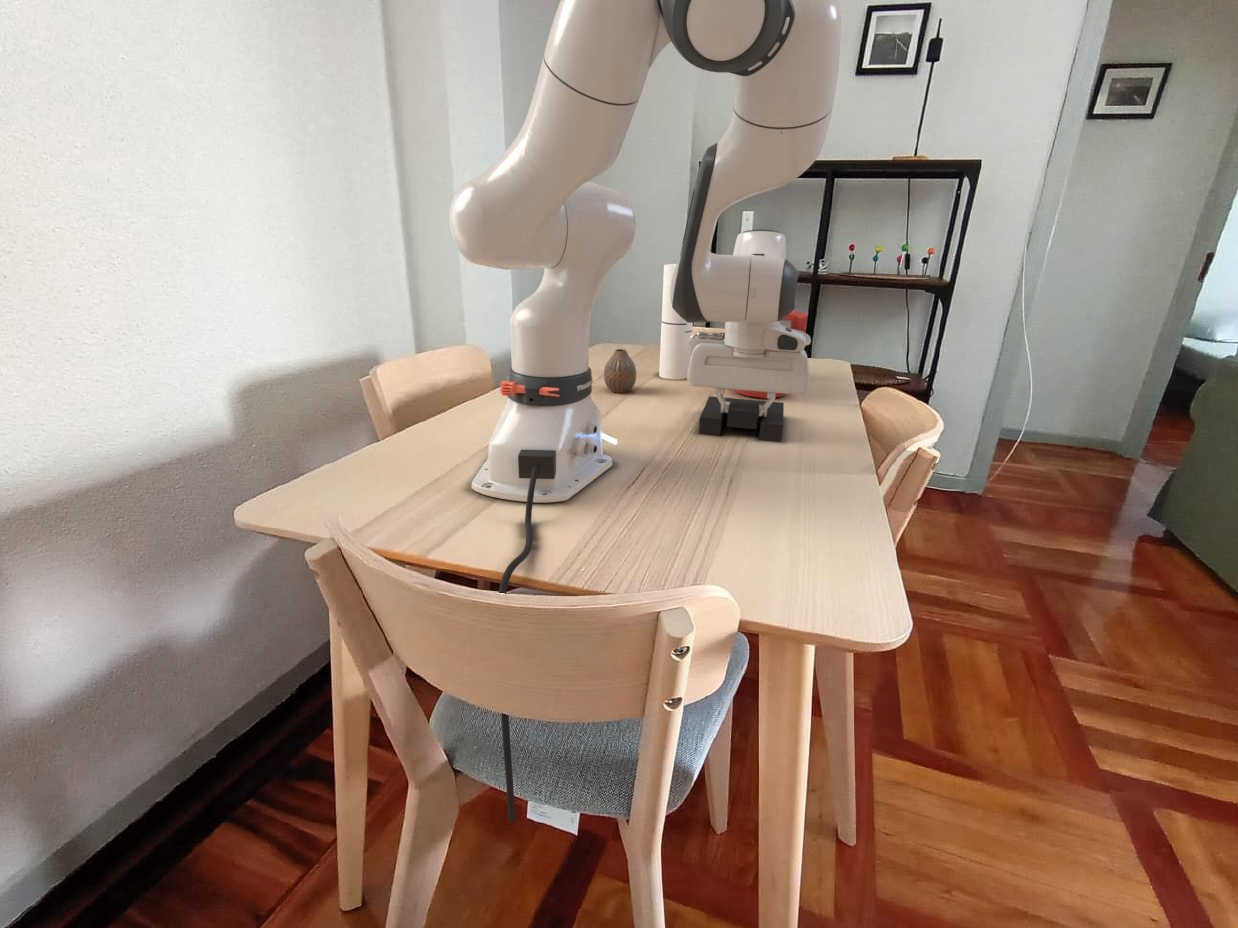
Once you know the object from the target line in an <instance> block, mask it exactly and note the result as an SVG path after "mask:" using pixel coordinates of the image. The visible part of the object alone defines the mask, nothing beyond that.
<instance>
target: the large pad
mask: <svg viewBox="0 0 1238 928" xmlns="http://www.w3.org/2000/svg"><path fill="white" fill-rule="evenodd" d="M724 399H725V401H726V402H730V403H731V401H742V402H754V403H760V405H764V404H765V403H766V401H767V400H759V399H747V398H734V397H724ZM706 400H707V401H706V403H705V405H704V407H703V409H702V411H701V413H700V416H699V422H698V423H699V424H698V434H699V435H709V436H719V437H720V436H721V434H722V431H723V428H724V425H727V418H728V414H725V413H720V411H721V404H720V402H719V400H718V398H717V396H711V395H709V396H708V398H707V399H706ZM784 406H785V405H784V402H781V401H773V403H772V404H771V405H770V406H769V408H767V417H758V422H757V428H759V436H758V440H760V441H768V442H769V441H770V442H779V443H780V442H782V438H783V431H784V416H785V415H784V411H785V408H784Z"/></svg>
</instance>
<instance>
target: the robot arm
mask: <svg viewBox="0 0 1238 928" xmlns="http://www.w3.org/2000/svg"><path fill="white" fill-rule="evenodd" d="M841 17H842V16H841V9H840V5H839V3H838V1H837V0H560V1H559V4H558V6H557V9H556V13H555V14H554V18H553V20H552V24H551V26H550V31H549V33H548V37H547V41H546V46H545V49H544V53H543V56H542V60H541V65H540V69H539V73H538V76H537V81H536V84H535V89H534V91H533V95H532V98H531V101H530V105H529V109H528V111H527V114H526V117H525V120H524V122H523V125H522V127H521V129H520V130H519V131H518V134H517V135H516V137H515V139H514V140H513V141H512V143H511V144H510V145H509V147H508V148H507V149H506V151H504V153H503V154H502V156H500V157H499V158H498V159H497V160H496V162H494V163H493V164H492V165H491V166H490V167H489V168H487V169H486V170H485V171H483V172H482V173H481V174H479V175H477V176H475V177H474V178H472V179H470V180H468V181H466V182H464V183H463V184H462V185H461V186H460V187H459V188H458V190H457V191H456V192H455V195H454V197H453V198H452V201H451V205H450V207H449V215H448V225H449V231H450V235H451V238H452V240H453V243H454V244H455V247H456V248H457V250H458V251H459V253H460V254H461V255H462V257H464V258H465V260H467V261H468V262H469V263H470V264H473V265H478V266H483V267H488V268H493V269H500V270H505V271H507V270H536V269H537V270H539V269H541V270H542V269H544V270H543V276H542V279H541V282H540V284H539V286H538V287H537V289H536V291H535V292H533V294H531V295H530V296H528V297H526V298H525V299H524V300H522V301H521V302H519V303H518V305H516V306H515V308H514V309H513V311H512V313H511V316H510V319H509V335H510V354H511V355H510V356H511V357H510V358H511V367H510V369H509V370H508V377H507V380H502V381H501V382H500V386H499V391H500V395H501V396H505V397H507V401H506V402H505V406H504V408H503V410H502V412H501V413H500V416H499V418H498V421H497V423H496V425H495V428H494V430H493V432H492V434H491V436H490V439H489V442H488V447H487V459H486V460H485V461H484V463H483V465H482V466H481V467H480V469H479V471H478V472H477V473H476V475H475V476H474V477H473V479H472V481H471V489H472V490H473V491H475V492H476V493H478V494H481V495H484V496H486V497H492V498H496V499H502V500H507V501H514V502H515V501H516V502H523V503H526V504H525V505H526V506H525V516H524V528H525V544H524V548H523V549H522V551H521V553H520V554H518V556H516V557H514V559H513V560H512V561H511V562H509V564H508V565H507V567H506V568H505V570H504V572H503V575H502V577H501V579H500V584H499V587H498V593H505V595H506V594H507V592H508V586H509V583H510V579H511V577H512V575H513V573H514V571H515V570H516V568H517V567H518V566H519V565H520V564H521V563H523V562H524V561H525V560H526V559H527V558H528V556H529V555H530V553H531V551H532V546H533V542H534V541H533V540H534V538H533V537H534V536H533V535H534V533H533V526H532V517H533V504H534V503H541V504H542V503H559V502H564V501H568V500H569V499H571V498H572V497H573V496H575V495H576V494H577V493H579V492H580V491H581V490H582V489H583V488H585V487H586V486H588V485H589V484H591V483H592V482H593V481H594V480H596V479H597V478H599V476H602V474H603V473H605V472H606V471H608V470H609V469H610V468H611V467H612V466H613V458H612V457H611V456H609V455H608V454H606V453H604V447H603V446H604V443H603V440H605V441H607V442H608V443H611V444H613V445H617V444H618V440H617V439H616V438H614V437H612V436H609V435H607V434H605V433H603V425H602V424H603V423H602V411H601V409H599V407H598V406H597V404H595V402H594V400H593V399H592V396H591V394H592V392H593V376H592V375H593V374H592V368H591V367H590V365H589V359H590V357H589V356H590V355H589V353H590V333H591V332H590V330H591V320H592V312H593V308H594V304H595V301H596V298H597V295H598V293H599V291H600V288H601V287H602V285H603V282H604V281H605V279H606V277H607V276H608V274H609V273H610V271H611V270H612V269H613V268H614V267H615V265H617V264H618V262H620V261H621V260H622V259H623V258H624V257H625V256H626V255H627V253H628V252H629V250H630V248H631V246H632V244H633V242H634V238H635V234H636V216H635V211H634V209H633V206H632V204H631V202H630V200H629V199H628V197H627V195H625V193H623V192H622V191H620V190H618V189H615V188H613V187H610V186H606V185H604V184H599V183H596V182H592V181H591V180H593V179H595V178H597V177H599V176H601V175H602V174H603V173H605V172H606V171H607V170H609V169H610V167H611V166H612V165H613V164H614V163H615V162H616V160H617V159H618V157H619V154H620V152H621V149H622V147H623V144H624V141H625V138H626V136H627V132H628V130H629V127H630V125H631V122H632V119H633V116H634V115H635V114H634V113H635V111H636V108H637V106H638V103H639V101H640V97H641V95H642V92H643V89H644V87H645V83H646V80H647V78H648V75H649V71H650V69H651V68H652V66H653V64H654V62H655V60H656V58H657V57H658V56H659V54H660V53H661V52H662V51H663V49H665V48H666V47H667V46H668V45H669V44H671V43H672V45H673V47H674V48H675V49H676V51H677V52H678V53H679V55H680V56H681V57H682V58H683V59H684V60H685V61H686V62H688V63H689V64H690V65H692V66H694V67H696V68H698V69H700V70H703V71H706V72H712V73H719V74H720V73H725V74H726V73H729V74H732V75H734V77H735V78H734V79H735V80H734V87H733V88H734V89H733V99H732V100H733V101H732V111H731V115H730V120H729V123H728V125H727V127H726V129H725V131H724V133H723V134H722V136H721V138H720V139H719V140H718V142H715V143H714V144H712V145H709V146H708V147H707V148H706V150H705V151H704V153H703V156H702V158H701V161H700V163H699V167H698V171H697V174H696V179H695V185H694V188H693V190H692V195H691V199H690V204H689V209H688V212H687V213H688V214H687V218H686V224H685V229H684V232H683V233H684V234H683V239H682V244H681V245H682V246H681V250H680V253H679V254H680V255H679V258H678V260H677V263H676V264H677V265H676V268H675V270H674V273H673V276H672V280H671V287H670V298H671V303H672V308H673V309H674V310H675V311H676V313H677V314H678V315H679V316H680V317H682V318H683V319H684V320H685V321H686V322H688V323H693V324H694V323H695V324H696V323H709V322H718V323H719V322H721V323H725V324H724V332H719V331H718V332H715V331H713V332H707V331H697V333H694V334H692V336H691V337H690V339H689V342H688V353H689V355H690V356H691V358H690V363H689V368H688V375H687V378H686V380H687V383H688V384H689V385H690V386H691V387H699V388H709V389H711V388H713V389H715V397H717V398H718V400H719V402H720V404H721V411H720V413H725V414H728V409H729V406H730V402H726V401H725V399H724V398H725V397H724V394H725V391H726V390H733V389H734V390H746V391H758V392H768V393H767V398H769V399H766V400H765V401H766V403H765V404H764V405H759V412H758V417H767V408H769V406H770V405H771V404H772V403H773V402H775V400H776V397H775V396H776V393H782V394H786V395H797V396H803V395H804V394H805V393H806V392H808V390H809V383H810V382H809V381H810V367H809V358H808V354H807V352H806V350H805V348H806V346H807V345H806V337H805V335H804V334H803V333H801V332H799V331H796V330H793V329H791V328H788V327H785V326H783V325H780V321H781V320H782V319H784V318H785V317H786V316H787V315H789V314H790V313H791V312H792V311H795V309H796V305H795V303H796V302H795V301H796V291H797V284H798V280H799V276H800V271H799V270H798V269H797V267H795V266H794V265H793V263H792V262H791V261H790V260H789V259H787V238H786V235H785V234H784V233H782V232H780V231H778V230H773V229H761V228H760V229H749V230H744V231H742V232H740V233H738V234H737V236H736V239H735V244H734V247H733V252H732V254H719V253H713V252H711V251H710V250H711V245H712V242H713V239H714V234H715V230H716V226H717V224H718V220H719V217H720V216H721V215H722V213H723V212H724V211H725V210H727V209H728V208H729V207H731V206H733V205H735V204H737V203H739V202H741V201H744V200H745V199H749V198H750V197H753V196H756V195H760V194H763V193H767V192H770V191H774V190H776V189H779V188H781V187H784V186H786V185H788V184H789V183H791V182H793V181H795V180H796V179H797V178H799V177H800V176H801V175H803V174H804V173H805V172H806V171H807V170H808V169H809V168H810V167H811V166H812V165H813V164H814V163H815V162H816V160H817V159H818V157H819V156H820V153H821V151H822V149H823V146H824V143H825V140H826V137H827V134H828V130H829V128H830V127H829V126H830V122H831V117H832V114H833V107H834V104H835V103H834V102H835V97H836V90H837V83H838V78H839V77H838V75H839V67H840V57H841V56H840V55H841V36H842V35H841V34H842V33H841V32H842V31H841V28H842V27H841V25H842V24H841V23H842V22H841V19H842V18H841ZM734 390H733V391H734ZM500 715H501V716H500V718H501V731H502V732H501V733H502V746H503V747H502V749H503V760H504V772H505V787H506V801H507V815H508V816H507V818H508V823H514V822H515V821H516V808H515V807H516V806H515V792H514V791H515V790H514V775H513V761H512V748H511V747H512V746H511V731H510V716H509V715H510V714H509V715H506V714H503V713H501V712H500Z"/></svg>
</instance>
